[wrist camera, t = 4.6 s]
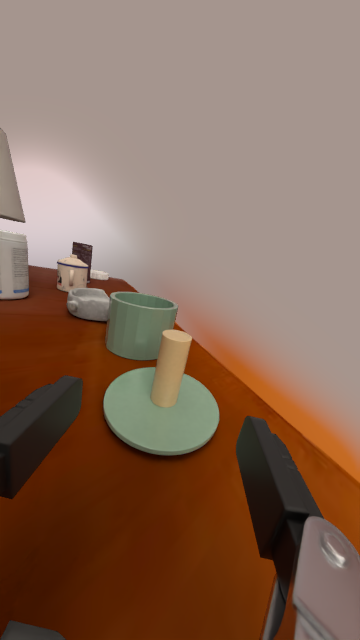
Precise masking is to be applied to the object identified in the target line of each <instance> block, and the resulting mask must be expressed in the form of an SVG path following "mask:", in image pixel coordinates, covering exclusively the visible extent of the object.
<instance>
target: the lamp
mask: <svg viewBox="0 0 360 640" xmlns="http://www.w3.org/2000/svg"><path fill="white" fill-rule="evenodd" d="M0 218H3V219H8V220H13V221H17V222H23V223H25V218H24V214H23V209H22V205H21V201H20V196H19V191H18V187H17V182H16V177H15V173H14V168H13V164H12V159H11V154H10V150H9V145H8V141H7V136H6V134H5V133H4V132H3V130H2V129H1V128H0Z"/></svg>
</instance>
